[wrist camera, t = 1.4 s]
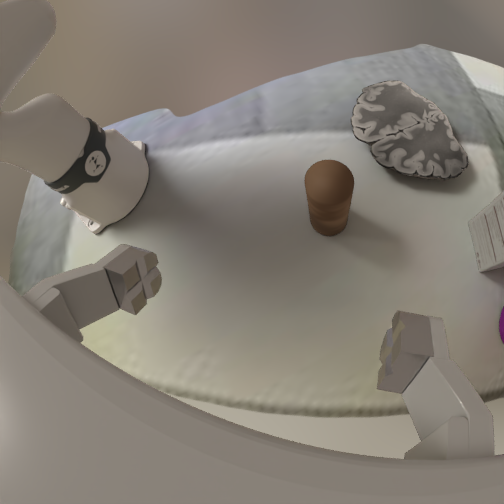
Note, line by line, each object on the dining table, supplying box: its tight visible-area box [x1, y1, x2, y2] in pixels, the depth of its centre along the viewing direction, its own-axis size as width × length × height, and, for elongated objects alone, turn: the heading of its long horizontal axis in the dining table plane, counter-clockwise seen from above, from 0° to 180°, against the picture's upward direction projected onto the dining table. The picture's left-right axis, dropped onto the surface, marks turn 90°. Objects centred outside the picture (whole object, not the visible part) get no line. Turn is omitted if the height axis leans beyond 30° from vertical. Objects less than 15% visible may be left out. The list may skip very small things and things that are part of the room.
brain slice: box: [351, 81, 468, 180], centre depth 33 cm, size 20×17×3 cm
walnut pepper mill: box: [305, 160, 354, 236], centre depth 30 cm, size 5×5×10 cm
